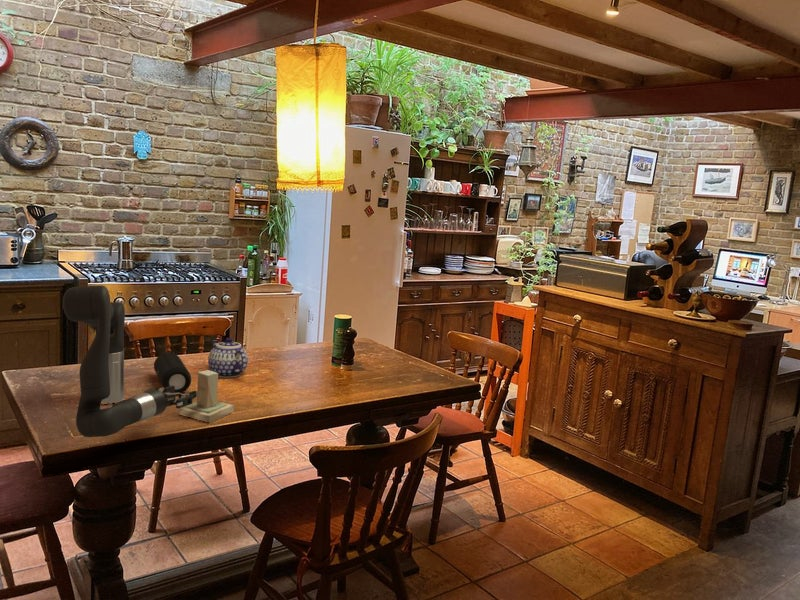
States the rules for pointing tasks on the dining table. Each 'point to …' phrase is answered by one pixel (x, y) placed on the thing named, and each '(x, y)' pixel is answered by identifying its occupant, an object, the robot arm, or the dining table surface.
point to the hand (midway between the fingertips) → (184, 391)
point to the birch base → (206, 411)
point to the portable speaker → (172, 372)
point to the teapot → (227, 358)
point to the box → (207, 388)
